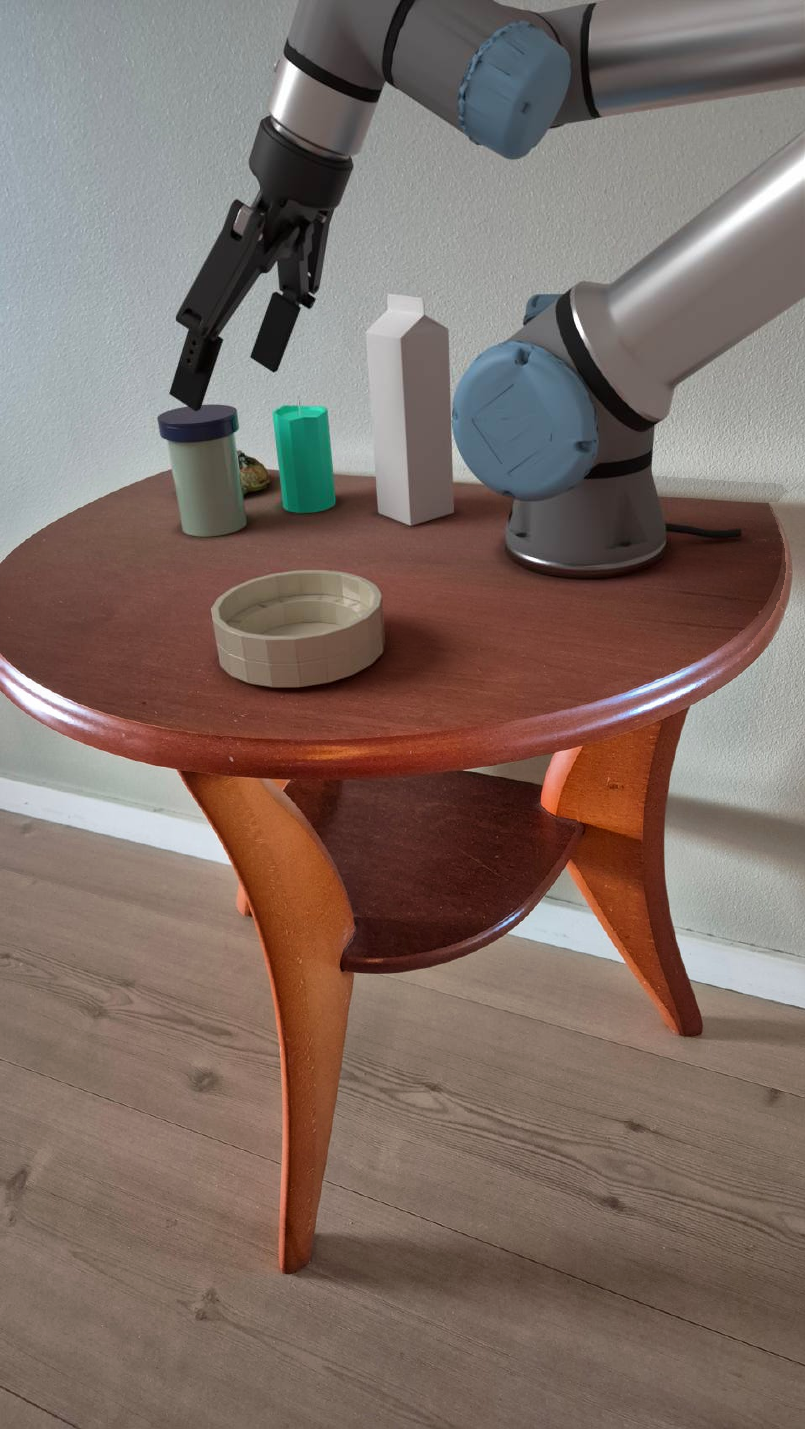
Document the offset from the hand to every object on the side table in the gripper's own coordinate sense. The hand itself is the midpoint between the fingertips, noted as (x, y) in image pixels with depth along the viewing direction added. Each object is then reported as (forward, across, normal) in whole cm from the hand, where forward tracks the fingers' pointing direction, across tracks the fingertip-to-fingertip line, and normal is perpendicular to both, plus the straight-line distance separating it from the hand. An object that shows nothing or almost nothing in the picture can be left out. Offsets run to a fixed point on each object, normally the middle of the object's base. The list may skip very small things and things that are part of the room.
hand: (226, 382), depth 88 cm
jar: (+20, -9, 0) cm, 22 cm away
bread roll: (+24, -21, -5) cm, 32 cm away
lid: (+10, -9, -6) cm, 15 cm away
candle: (+17, -18, +7) cm, 26 cm away
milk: (+10, -18, +18) cm, 27 cm away
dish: (+8, +16, +20) cm, 27 cm away
